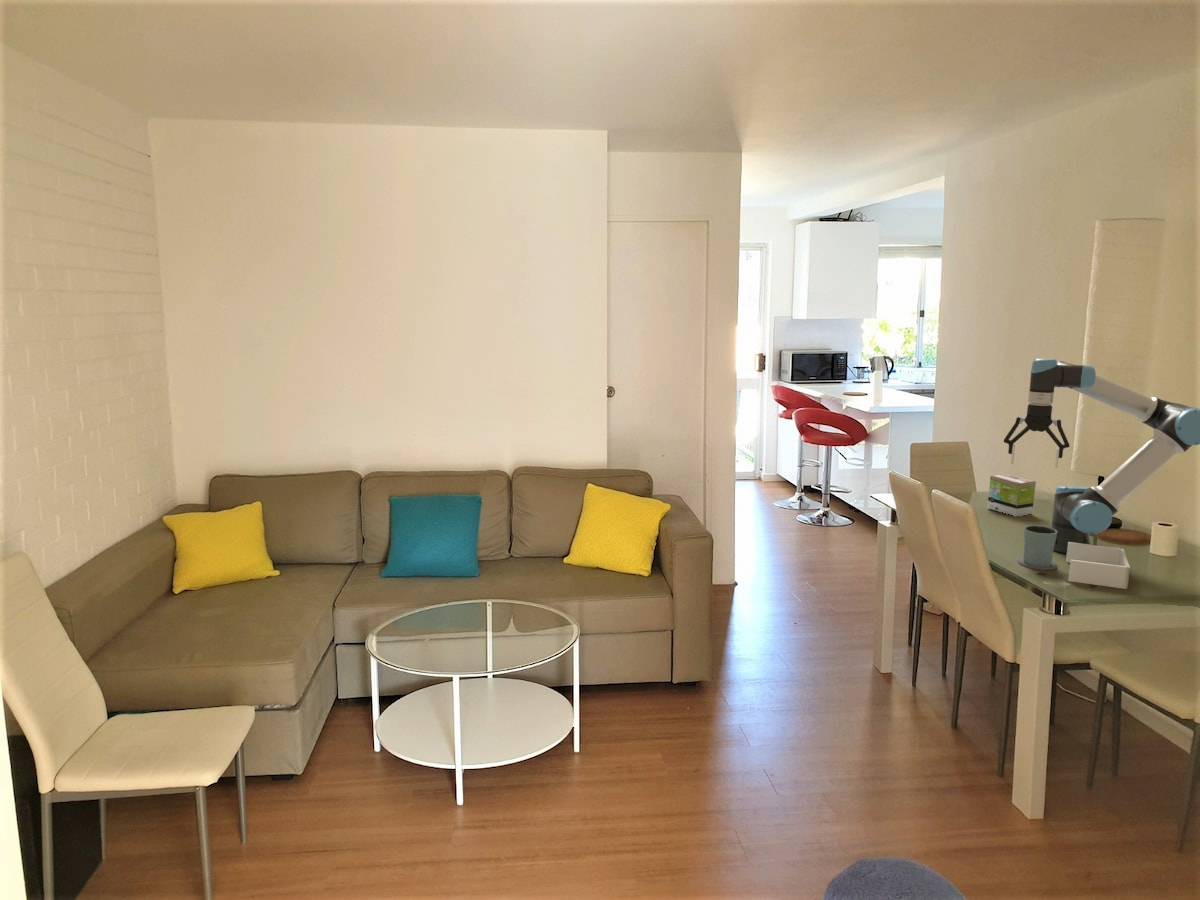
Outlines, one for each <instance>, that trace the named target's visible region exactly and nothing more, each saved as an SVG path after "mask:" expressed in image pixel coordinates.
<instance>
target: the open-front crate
mask: <svg viewBox="0 0 1200 900" xmlns="http://www.w3.org/2000/svg"><path fill="white" fill-rule="evenodd" d="M1065 563H1069V564H1070V565H1069V573H1068V582H1072V583H1080V584H1087V585H1093V586H1103V587H1109V588H1114V589H1115V588H1116V589H1125V590H1128V587H1129V580H1130V572H1131V571H1130V570H1131V566H1130V563H1129V561H1128V558H1127V555H1126V551H1125V549H1124V548H1122V547H1114V546H1106V545H1096V544H1092V545H1090V544H1082V543H1073V542H1068V548H1067V553H1066V558H1065Z"/></svg>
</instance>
